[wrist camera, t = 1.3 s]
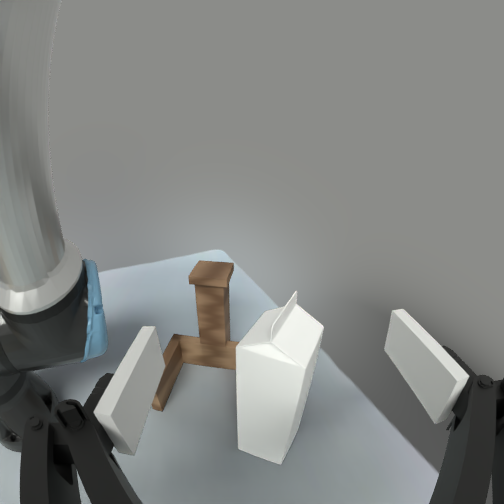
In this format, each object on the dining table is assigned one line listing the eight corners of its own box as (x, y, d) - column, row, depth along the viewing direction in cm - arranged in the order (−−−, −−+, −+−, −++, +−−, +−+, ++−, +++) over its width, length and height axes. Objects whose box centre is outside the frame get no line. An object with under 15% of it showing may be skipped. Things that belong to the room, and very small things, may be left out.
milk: (297, 431, 31) (332, 296, 23) (280, 466, 26) (314, 337, 18) (256, 418, 34) (267, 281, 25) (236, 449, 28) (235, 314, 20)
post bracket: (153, 409, 33) (122, 314, 27) (182, 344, 48) (171, 258, 41) (249, 425, 32) (252, 332, 26) (259, 353, 47) (263, 265, 40)
